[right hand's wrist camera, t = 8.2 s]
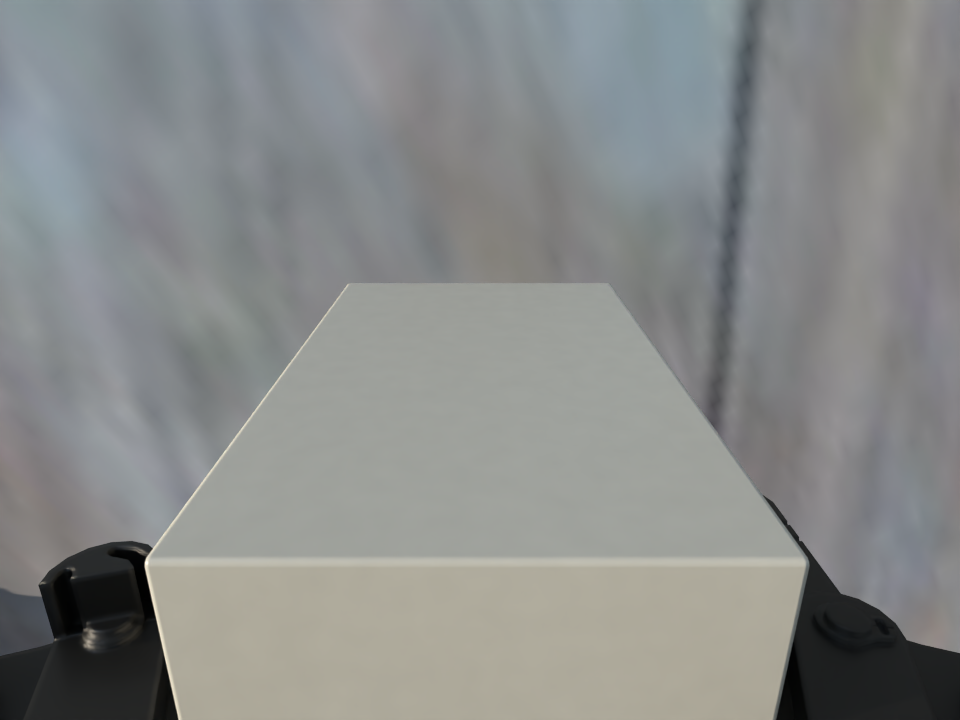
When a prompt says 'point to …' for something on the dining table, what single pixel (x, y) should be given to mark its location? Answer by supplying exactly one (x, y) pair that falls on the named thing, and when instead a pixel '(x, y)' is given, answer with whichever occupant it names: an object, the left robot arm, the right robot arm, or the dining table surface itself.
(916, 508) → the dining table surface
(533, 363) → the bar
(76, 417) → the dining table surface
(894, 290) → the dining table surface
